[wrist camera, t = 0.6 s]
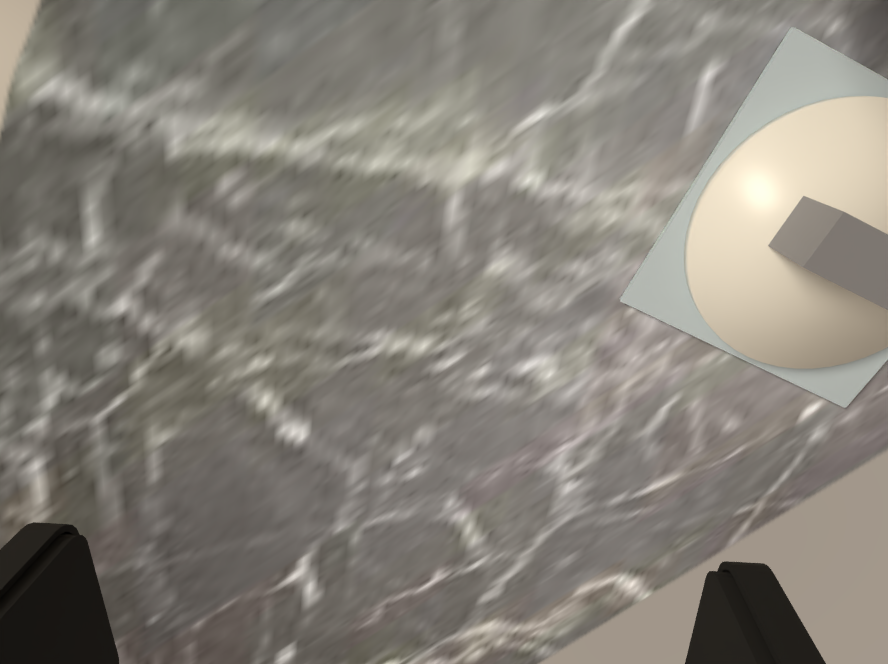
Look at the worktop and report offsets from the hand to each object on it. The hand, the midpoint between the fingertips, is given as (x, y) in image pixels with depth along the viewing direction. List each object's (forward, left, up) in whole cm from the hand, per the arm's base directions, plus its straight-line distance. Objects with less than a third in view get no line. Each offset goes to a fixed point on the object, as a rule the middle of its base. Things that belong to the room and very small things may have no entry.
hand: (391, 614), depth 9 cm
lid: (-8, +19, -28) cm, 34 cm away
